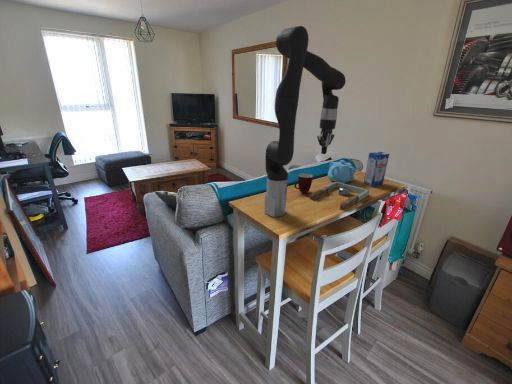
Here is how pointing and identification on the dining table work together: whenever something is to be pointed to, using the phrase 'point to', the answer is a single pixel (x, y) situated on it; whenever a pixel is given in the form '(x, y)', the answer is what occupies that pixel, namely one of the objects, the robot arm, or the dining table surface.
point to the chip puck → (344, 191)
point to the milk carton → (376, 168)
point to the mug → (304, 182)
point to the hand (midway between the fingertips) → (323, 153)
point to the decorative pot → (341, 172)
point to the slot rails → (342, 205)
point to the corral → (361, 191)
